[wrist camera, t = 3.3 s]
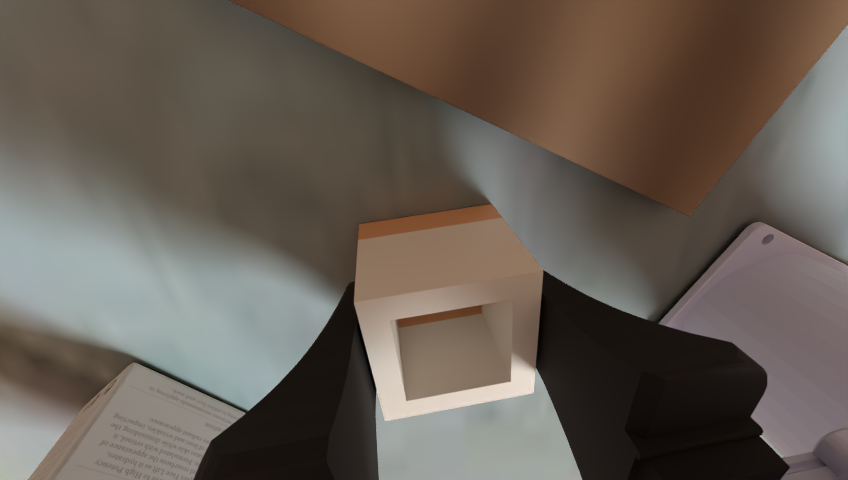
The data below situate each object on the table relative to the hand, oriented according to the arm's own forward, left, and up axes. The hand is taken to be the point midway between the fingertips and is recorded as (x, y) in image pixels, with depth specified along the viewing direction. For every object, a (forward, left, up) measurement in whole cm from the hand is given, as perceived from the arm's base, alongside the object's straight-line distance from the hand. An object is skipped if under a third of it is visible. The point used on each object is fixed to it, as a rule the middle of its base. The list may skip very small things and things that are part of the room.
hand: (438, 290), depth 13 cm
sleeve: (0, 0, -1) cm, 1 cm away
